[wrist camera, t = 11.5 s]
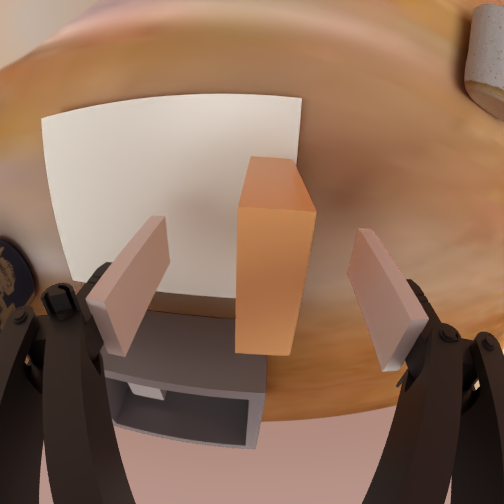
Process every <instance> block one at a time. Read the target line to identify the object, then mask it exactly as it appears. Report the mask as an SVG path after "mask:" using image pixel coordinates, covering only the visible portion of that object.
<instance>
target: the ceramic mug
mask: <svg viewBox="0 0 504 504" xmlns="http://www.w3.org/2000/svg"><path fill="white" fill-rule="evenodd" d="M464 82H465V89H466V91H467V93H468V94H469V96H470V98H471V99H472V100H473V101H474V102H475V103H476V104H478V105H479V106H480V107H482V108H483V109H484V110H486V111H487V112H489V113H490V114H492V115H493V116H495V117H497V118H498V119H500V120H502V121H503V122H504V6H500V5H493V4H483V5H480V6H478V7H476V8H475V9H474V10H473V13H472V24H471V32H470V41H469V50H468V56H467V61H466V67H465V79H464Z"/></svg>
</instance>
